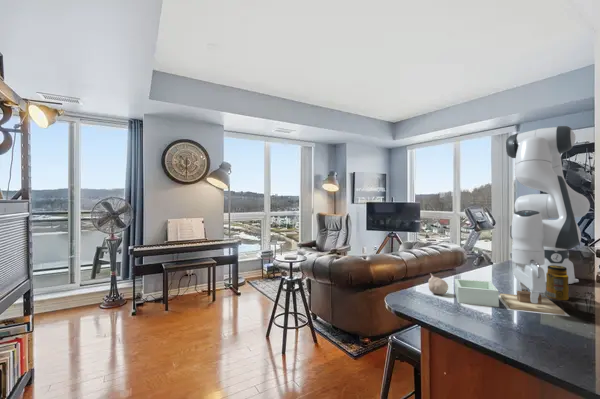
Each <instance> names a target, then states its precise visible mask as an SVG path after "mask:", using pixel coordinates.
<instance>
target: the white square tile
mask: <svg viewBox="0 0 600 399" xmlns="http://www.w3.org/2000/svg"><path fill="white" fill-rule="evenodd" d="M499 302H501V303H502V304H503V306H504V307H505V308H506V310H507V311H515V312H526V313H535V314H536V313H537V314H542V315H543V314H544V315H552V316H553V315H554V316H562V317H570V315H569V314H568V313H567V312H565V315H563V314H553V313H544V312H534V311H525V310H515V309H510V308H509V307H508V305H507V304H506V303H505V302H504V300H503V299H502V298H501V297H500V294H499Z"/></svg>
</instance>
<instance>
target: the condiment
mask: <svg viewBox="0 0 600 399" xmlns="http://www.w3.org/2000/svg"><path fill="white" fill-rule="evenodd" d="M547 268H548V270H547V271H548V272H547V274H546V298H548V299H551V300H556V301H568V300H569V298H570V296H569V290H570V287H569V284H568V275H567V268H566V267H563V266H556V265H549V266H548V267H547Z"/></svg>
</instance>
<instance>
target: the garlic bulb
mask: <svg viewBox="0 0 600 399" xmlns="http://www.w3.org/2000/svg"><path fill="white" fill-rule="evenodd" d="M429 275H430V276H431V277H430V278H428V280H427V281H428V289H429V291H430V292H431V293H432V294H435V295H446V293H447V292H448V290H449V284H448V283H447V282H446V281H445V280H444V279H442V278H440V277H437V276H434V275H433V273H431V272H430V273H429Z"/></svg>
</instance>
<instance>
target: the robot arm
mask: <svg viewBox="0 0 600 399" xmlns="http://www.w3.org/2000/svg"><path fill="white" fill-rule="evenodd" d="M575 142H576V134H575V132H574V130H573V129H572V128H571V127H570V126H568V125H558V126H557V127H556V126H555V127H552V126H551V127H544V128H543V127H542V128H537V129H534V130H529V131H524V132H520V133H514V134H512V135H511V134H510V136H508V137H507V139H506V140H505V144H504V145H505V146H504V150H505V152H506V155H507V156H508V157H510V158H512V159H515V160H514V161H515V162H514V174H515V175H514V176H515V178H516V181H517V182H518V183H519V184H521V185H522V186H524V187H526V188H529V189H532V190H536V191H539V192H543V193H532V194H531V193H530V194H524V195H520V196H518V197H517V198H516V199H515V202H514V210H515V212H513V214H512V220H511V225H510V226H509V231H510V233H509V236H510V239H511V240H512V245H511V251H510V252H509V258H510V259H511V264H512V265H511V266H512V273H513V276H514V278H515V279H516V280H517V281H518V284H519V288H520V291H527V292H531V295H530V301H531V302H532V303H538V297H539V294H540V293H542V294H543V293H546V292H547V282H546V274H547V272H548V271H547V270H548V268H547V267H548V266H549V265H556V266H563V267H566V268H567V275H568V285H569V284H570V285H571V284H574V283H579V282H580V281H579V279H578V278H576V276H575V268H574V263H573V262H572V261H571V260H570V259H569V258H570V251H569V250H571V249H574V248H575V247H578V246H579V245H580V244H581V240H582V233H581V229H580V227H579V225H578V223H577V221H576V218H582V217H584V216H586V215H587V214H588V213H589V211H590V208H591V203H590V201H589V199H588V198H587V196H586V195H585V196H584V195H583V194H581V193H579V192H578V191H576V190H574V189H573V188H572V187H570V185H568V183H567V181H566V179H565V177H564V171H563V163H562V156H561V154H563V153H566V152H569V151H570V150H571V149H573V147H574V144H575Z"/></svg>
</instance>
